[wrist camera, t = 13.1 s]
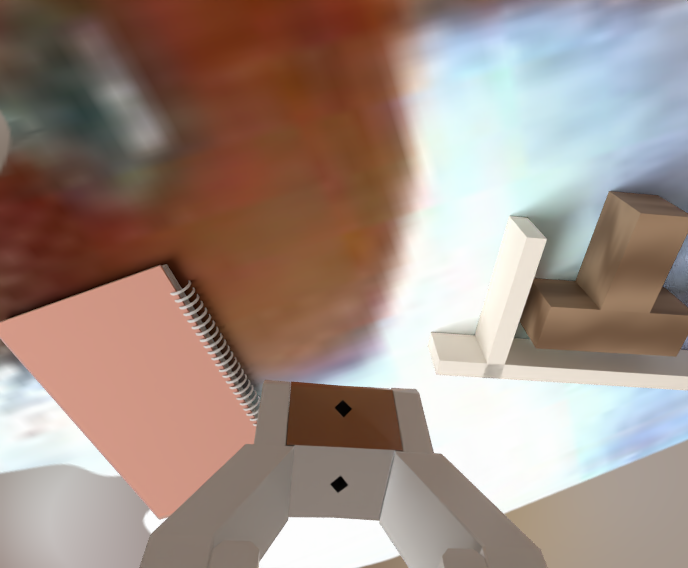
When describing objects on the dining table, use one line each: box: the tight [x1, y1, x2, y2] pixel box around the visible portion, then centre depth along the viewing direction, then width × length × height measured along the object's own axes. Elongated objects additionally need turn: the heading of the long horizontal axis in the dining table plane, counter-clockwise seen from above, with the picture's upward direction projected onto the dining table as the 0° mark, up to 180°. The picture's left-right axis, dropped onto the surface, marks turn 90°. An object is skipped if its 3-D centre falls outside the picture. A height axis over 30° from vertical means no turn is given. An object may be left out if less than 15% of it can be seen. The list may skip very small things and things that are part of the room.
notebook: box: [0, 264, 260, 520], centre depth 48 cm, size 27×17×2 cm, turn 20°
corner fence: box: [428, 216, 688, 390], centre depth 42 cm, size 13×26×4 cm, turn 84°
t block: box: [520, 191, 688, 357], centre depth 40 cm, size 12×12×4 cm
